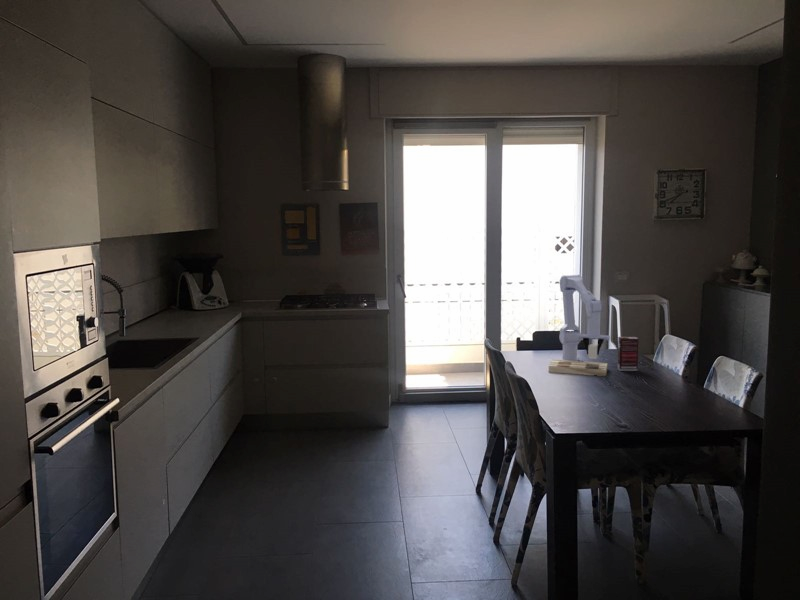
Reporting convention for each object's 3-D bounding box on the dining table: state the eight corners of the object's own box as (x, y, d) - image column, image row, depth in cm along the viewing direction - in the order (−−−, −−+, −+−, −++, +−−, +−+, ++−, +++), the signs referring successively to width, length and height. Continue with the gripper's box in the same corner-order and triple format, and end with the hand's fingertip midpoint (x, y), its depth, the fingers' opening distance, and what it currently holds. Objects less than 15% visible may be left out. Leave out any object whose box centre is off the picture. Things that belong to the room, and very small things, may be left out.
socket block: (552, 365, 318) (552, 358, 317) (607, 369, 308) (607, 362, 308) (548, 371, 305) (548, 364, 304) (605, 376, 295) (605, 369, 295)
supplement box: (635, 368, 309) (636, 336, 307) (637, 371, 304) (639, 338, 302) (616, 368, 310) (618, 336, 308) (619, 371, 305) (620, 338, 303)
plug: (588, 356, 306) (589, 344, 305) (597, 357, 304) (597, 344, 303) (587, 358, 302) (588, 345, 301) (596, 359, 301) (597, 346, 300)
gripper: (577, 326, 300) (576, 354, 302) (609, 328, 295) (608, 357, 297) (578, 324, 307) (577, 351, 308) (610, 325, 301) (609, 353, 303)
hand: (592, 354), depth 303 cm, fingers closed on plug, 4 cm apart
